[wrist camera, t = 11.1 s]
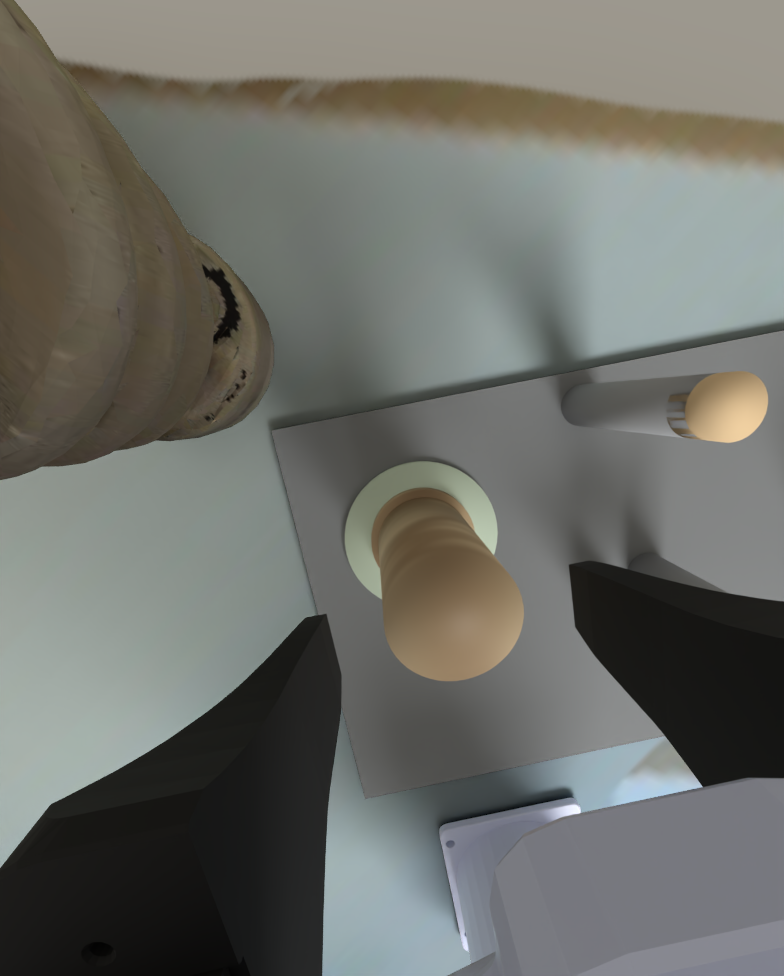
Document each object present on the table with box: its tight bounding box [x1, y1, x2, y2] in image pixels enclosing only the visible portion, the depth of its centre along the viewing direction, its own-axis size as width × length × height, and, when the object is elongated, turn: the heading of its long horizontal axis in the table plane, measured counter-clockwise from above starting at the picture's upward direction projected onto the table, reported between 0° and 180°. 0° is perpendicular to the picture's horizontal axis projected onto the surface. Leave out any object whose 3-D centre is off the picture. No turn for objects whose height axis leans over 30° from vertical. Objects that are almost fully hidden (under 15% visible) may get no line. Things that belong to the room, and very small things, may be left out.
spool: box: [371, 487, 524, 681], centre depth 15 cm, size 5×5×7 cm
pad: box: [345, 461, 498, 599], centre depth 18 cm, size 7×7×1 cm
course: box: [271, 330, 784, 799], centre depth 16 cm, size 20×27×8 cm
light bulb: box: [0, 0, 274, 480], centre depth 9 cm, size 6×6×15 cm
